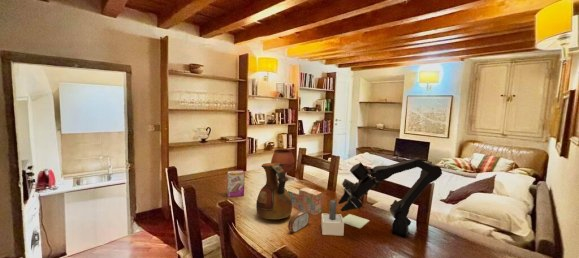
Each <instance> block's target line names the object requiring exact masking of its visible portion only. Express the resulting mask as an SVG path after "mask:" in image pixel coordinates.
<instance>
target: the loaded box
mask: <svg viewBox="0 0 579 258" xmlns="http://www.w3.org/2000/svg"><path fill="white" fill-rule="evenodd" d="M324 215H329V213H321V221H320V226H321V233H322V235H324V236H325V235H326V236H338V237H339V236H343V237H344V234H345V233H344V232H345V231H344V230H345V223H344V222H343V216H342V214H340V213H339V214H338V213H336V215H340V218H341V222H342V223H339V222H324V217H323V216H324Z"/></svg>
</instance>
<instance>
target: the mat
mask: <svg viewBox="0 0 579 258" xmlns="http://www.w3.org/2000/svg"><path fill="white" fill-rule="evenodd" d="M342 219H343V222H344V225H348V226H351V227H354V228H357V229H362V228H363V227H364V226H365V225H367V224H368V223H370V220H369V219H367V218H363V217H361V216H357V215H354V214H351V213H348V214H347V215H346V216H344V217H342Z"/></svg>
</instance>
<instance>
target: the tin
mask: <svg viewBox="0 0 579 258" xmlns="http://www.w3.org/2000/svg"><path fill="white" fill-rule="evenodd" d="M309 221H310V214H309V213H308V212H307V211H305V210H300V211H298V212H296V213H294V214H293V215H292V216H290V218H289V220H288V223H287V229H288V231H289V232H292V233H297V232H298V231H300V230H302V229H304V228H305V227H306V226H307V225H308V224H309Z"/></svg>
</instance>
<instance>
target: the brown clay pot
mask: <svg viewBox="0 0 579 258" xmlns="http://www.w3.org/2000/svg"><path fill="white" fill-rule="evenodd" d="M295 162H296V161H295V157H294V155H293V152H292V149H289V148H277V149H274V151H273V155H272V157H271V160H270V163H280V165H279V166H281V168H282V169H283V171H284V173H285V178H286V182H287V181H288V180H289V178H288V177H287V176H286V174H287V173H289V172H290V171H291V170H293V168H294V166H295ZM277 180H278V182H279V179H278V178H277Z"/></svg>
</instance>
